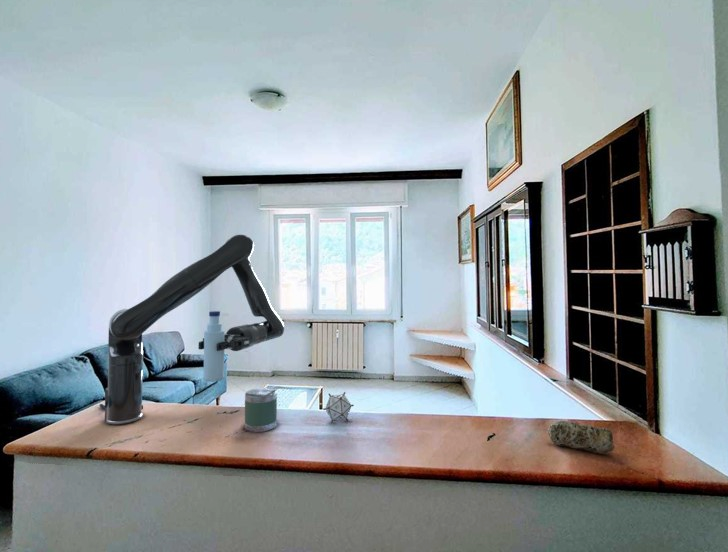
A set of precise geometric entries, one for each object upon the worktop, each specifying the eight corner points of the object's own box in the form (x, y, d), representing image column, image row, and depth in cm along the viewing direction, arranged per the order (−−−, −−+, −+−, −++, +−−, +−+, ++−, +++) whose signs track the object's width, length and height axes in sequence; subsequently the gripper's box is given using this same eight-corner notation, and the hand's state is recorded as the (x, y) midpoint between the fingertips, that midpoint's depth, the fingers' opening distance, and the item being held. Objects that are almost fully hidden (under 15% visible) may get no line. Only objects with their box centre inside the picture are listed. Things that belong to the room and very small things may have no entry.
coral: (547, 446, 103) (546, 422, 103) (549, 438, 108) (549, 415, 108) (614, 460, 95) (613, 434, 95) (613, 450, 100) (613, 425, 101)
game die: (342, 435, 119) (349, 415, 113) (316, 422, 121) (321, 402, 115) (353, 411, 126) (359, 391, 121) (328, 400, 128) (334, 380, 123)
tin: (238, 429, 114) (238, 394, 114) (255, 418, 122) (256, 385, 123) (266, 433, 111) (266, 397, 111) (282, 422, 119) (282, 388, 120)
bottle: (199, 381, 114) (200, 312, 115) (212, 376, 119) (212, 310, 120) (215, 383, 112) (216, 313, 113) (228, 378, 117) (228, 311, 118)
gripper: (224, 324, 132) (188, 331, 116) (262, 326, 127) (230, 334, 111) (224, 347, 132) (187, 358, 116) (262, 350, 127) (229, 361, 111)
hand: (208, 346), depth 114 cm, fingers closed on bottle, 5 cm apart
